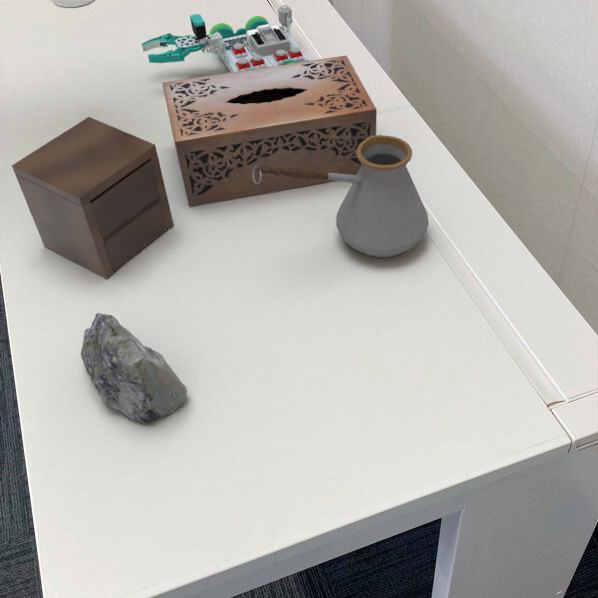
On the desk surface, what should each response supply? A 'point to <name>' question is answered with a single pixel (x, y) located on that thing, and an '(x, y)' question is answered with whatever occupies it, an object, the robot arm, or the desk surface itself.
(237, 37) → the robot kit
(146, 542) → the desk surface
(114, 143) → the wooden drawer cube
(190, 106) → the tissue box cover
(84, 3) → the can
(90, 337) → the mineral rock
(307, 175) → the coffee pot
